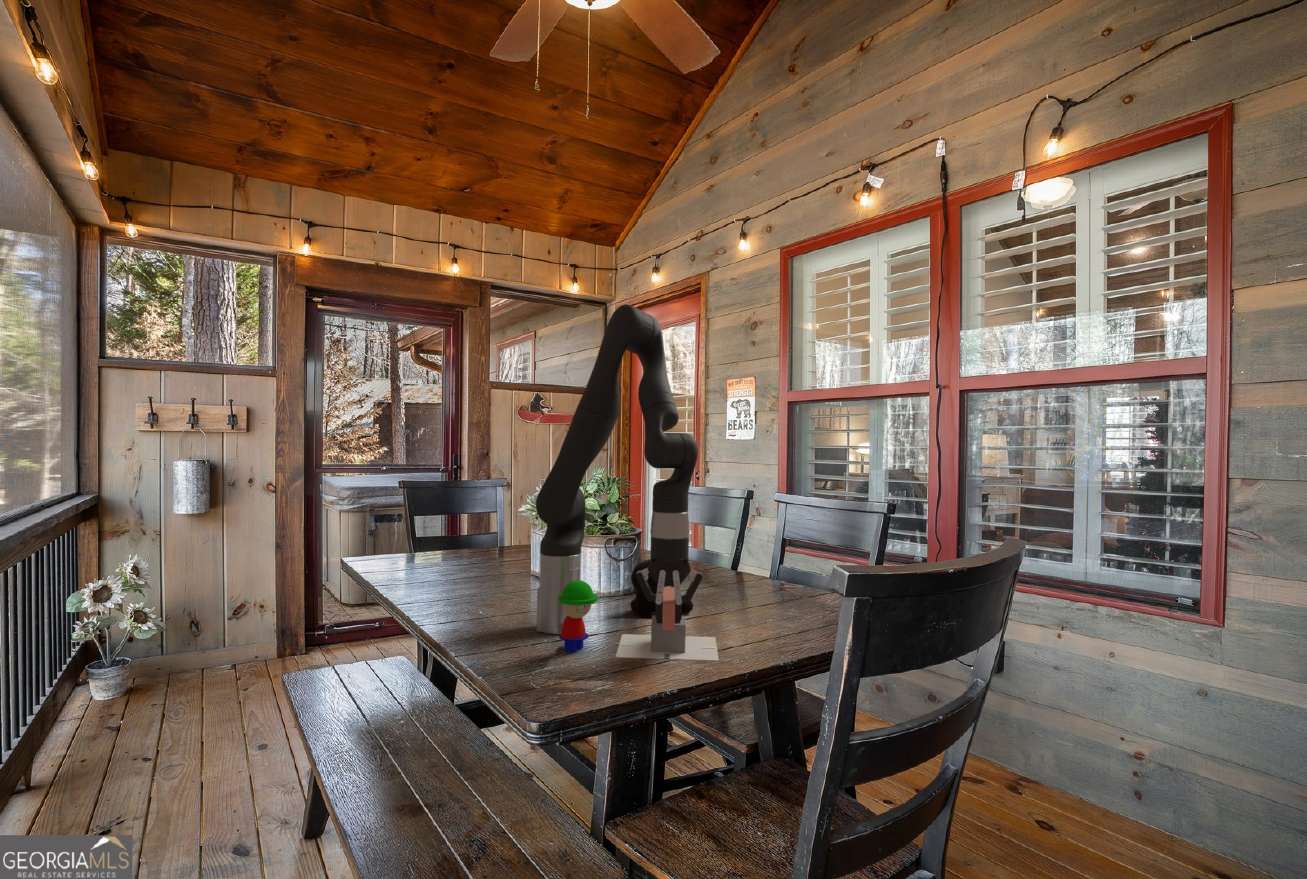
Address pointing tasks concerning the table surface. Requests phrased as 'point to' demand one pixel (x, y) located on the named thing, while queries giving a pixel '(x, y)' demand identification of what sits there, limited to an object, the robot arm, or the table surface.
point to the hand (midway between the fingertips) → (668, 622)
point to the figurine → (640, 602)
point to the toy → (575, 613)
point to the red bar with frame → (668, 627)
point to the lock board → (642, 649)
